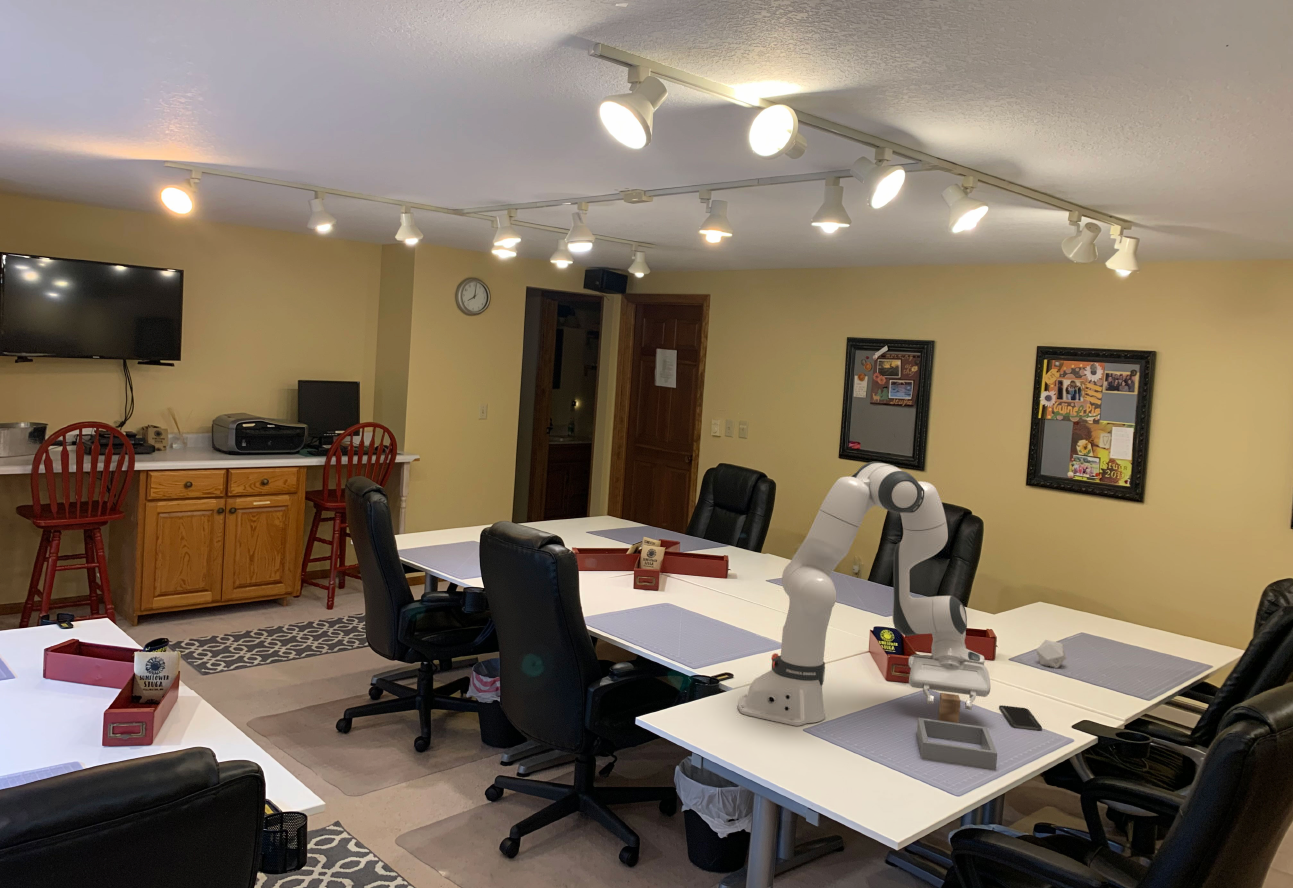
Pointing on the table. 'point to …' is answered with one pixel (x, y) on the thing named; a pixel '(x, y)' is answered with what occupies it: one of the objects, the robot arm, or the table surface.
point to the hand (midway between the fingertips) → (949, 706)
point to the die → (1051, 654)
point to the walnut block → (949, 708)
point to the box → (953, 752)
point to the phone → (1020, 718)
